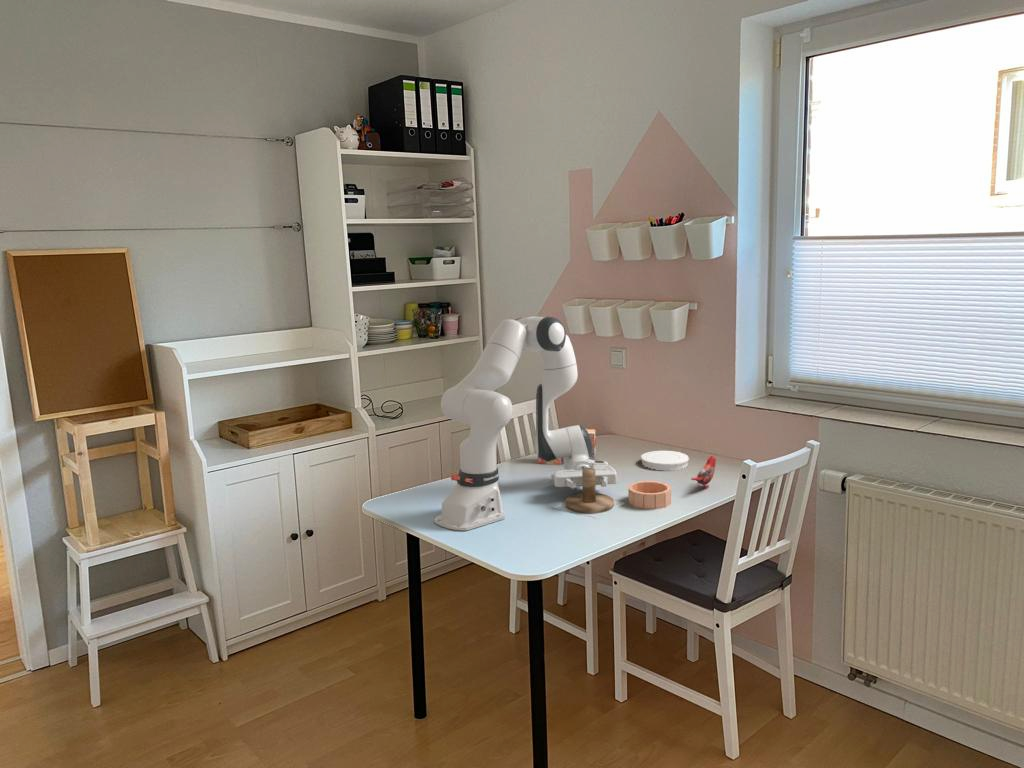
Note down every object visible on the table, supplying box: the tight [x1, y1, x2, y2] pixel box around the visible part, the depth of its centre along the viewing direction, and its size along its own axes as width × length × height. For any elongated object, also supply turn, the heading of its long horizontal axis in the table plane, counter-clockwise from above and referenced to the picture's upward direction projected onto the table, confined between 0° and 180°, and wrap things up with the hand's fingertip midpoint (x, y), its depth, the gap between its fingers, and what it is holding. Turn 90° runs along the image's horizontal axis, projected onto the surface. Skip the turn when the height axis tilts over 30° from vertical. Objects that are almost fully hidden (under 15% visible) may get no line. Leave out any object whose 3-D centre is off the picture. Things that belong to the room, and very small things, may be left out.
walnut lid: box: [564, 468, 615, 514], centre depth 241 cm, size 15×15×12 cm
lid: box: [640, 450, 690, 471], centre depth 284 cm, size 17×20×3 cm
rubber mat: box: [553, 500, 626, 519], centre depth 242 cm, size 16×16×1 cm
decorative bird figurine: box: [690, 455, 717, 490], centre depth 252 cm, size 3×18×10 cm, turn 141°
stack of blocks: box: [537, 428, 597, 465], centre depth 289 cm, size 21×6×12 cm, turn 80°
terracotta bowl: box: [627, 480, 672, 510], centre depth 243 cm, size 13×13×5 cm
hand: (589, 485), depth 240 cm, fingers open, 8 cm apart
